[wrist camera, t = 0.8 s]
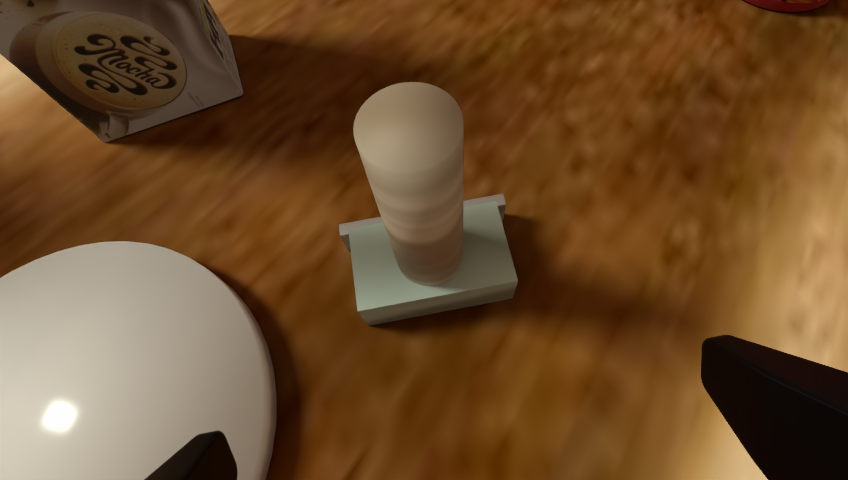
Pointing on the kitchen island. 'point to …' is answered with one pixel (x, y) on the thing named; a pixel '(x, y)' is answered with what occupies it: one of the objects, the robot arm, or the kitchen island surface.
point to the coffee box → (122, 58)
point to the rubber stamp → (422, 212)
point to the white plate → (127, 365)
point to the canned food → (788, 4)
